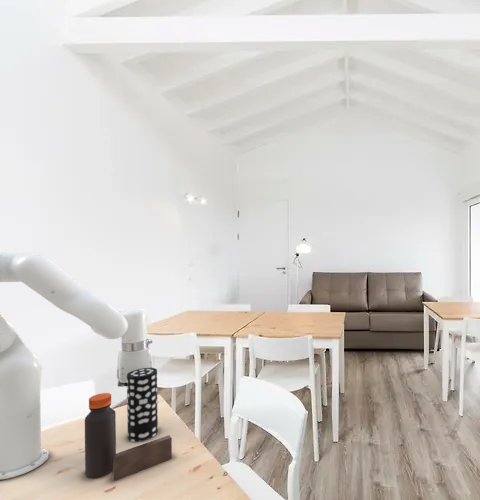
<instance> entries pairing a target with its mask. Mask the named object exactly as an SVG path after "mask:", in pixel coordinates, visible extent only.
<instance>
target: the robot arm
mask: <svg viewBox="0 0 480 500" xmlns="http://www.w3.org/2000/svg"><path fill="white" fill-rule="evenodd" d="M18 282H20V283H23V284H24V285H26V286H27V287H28V288H30V289H31V290H32V291H34V292H35V293H37V294H38V295H39V296H41V297H42V298H44V299H45V300H47V301H48V302H49V303H51V304H52V305H54V306H55V307H56V308H58V309H60V310H61V311H63V312H65V313H66V314H69V315H71V316H73V317H75V318H76V319H78V320H80V321H81V322H83V323H85V324H86V325H88V326H89V327H90V329H91V330H92V332H94V333H95V334H97V335H99V336H101V337H103V338H105V339H108V340H116V339H119V338H121V339H120V341H121V350H119V351H118V354H117V363H116V378H117V383H116V386H117V387H119V388H120V387H126V388H127V374H128V373H129V372H131V371H134V370H137V369H142V368H154V361H153V355H152V351H151V347H150V346H149V345H150V344H153V339H148V314H147V310H146V309H144V308H130V309H125V310H116V309H115V308H113V307H112V306H111V305H110V304H108V303H107V302H105V301H104V300H103V299H102V298H100V297H98V296H97V295H96V294H95V293H94V292H92V291H91V290H90V289H88V288H87V287H86V286H84V285H83V284H82V283H80V282H79V281H78V280H76V279H75V278H74V277H73V276H72V275H70V274H69V273H68V272H66V271H65V270H64V269H63V268H61V267H60V266H59V265H57V263H55V262H54V261H52V260H51V259H50V258H48V257H47V256H45V255H43V254H40V253H35V252H34V253H32V252H27V253H26V252H25V253H24V252H20V253H19V252H0V283H18ZM42 369H43V367H42V362H41V360H40V359H39V357H38V356H37V354H35V353H34V352H33V351H32V350H30V348H29V347H28V346H27V344H26V343H25V341H23V339H22V337H20V335H19V334H18V333H17V331H16V329H15V326H14V325H13V323H11V321H10V320H8V319H7V318H6V317H5V316H4V315H3V313H2V312H1V311H0V480H8V479H12V478H16V477H19V476H22V475H24V474H27V473H29V472H31V471H33V470H35V469H37V468H38V467H40V466H42V465H43V464H44V463H45V462H46V461H47V460H49V459H48V458H49V451H48V450H47V449H45V448H42V423H41V422H42V418H41V417H42V416H41V415H42V414H41V413H42V412H41V411H42V409H41V407H42V406H41V405H42V404H41V385H42V384H41V383H42V375H43V370H42Z"/></svg>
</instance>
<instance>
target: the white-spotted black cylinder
mask: <svg viewBox="0 0 480 500" xmlns="http://www.w3.org/2000/svg"><path fill="white" fill-rule="evenodd" d="M158 408H159V407H158V369H157V368H154V367H153V368H142V369H137V370H134V371H131V372H129V373H128V374H127V387H126V413H127V416H126V417H127V419H126V420H127V421H126V422H127V424H126V425H127V440H128V441H129V442H133V443H136V442H143V441H146V440H149V439H151V438H153V437H155V436H156V435H157V434H158V432H159V421H158V420H159V419H158V418H159V417H158V416H159V415H158V413H159V412H158Z"/></svg>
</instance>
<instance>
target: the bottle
mask: <svg viewBox="0 0 480 500" xmlns="http://www.w3.org/2000/svg"><path fill="white" fill-rule="evenodd" d="M111 405H112V394H111V393H110V392H101V393H97V394H95V395H92V396H90V397H89V398H88V410H89V411H90V412H89V413H88V414H87V415H86V416H85V418H84V473H85V476H86V477H87V478H89V479H97V478H100V477H103V476H106V475H109V474H110V473H112V455H113V454H116V453H117V440H116V438H117V431H116V430H117V423H116V422H117V421H116V420H117V418H116V414H117V413H116V410H115V409H113V408H112V407H111Z"/></svg>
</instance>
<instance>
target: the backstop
mask: <svg viewBox="0 0 480 500" xmlns="http://www.w3.org/2000/svg"><path fill="white" fill-rule="evenodd" d="M172 440H173V439H172V437H171V435H170V434H168V435H165V436H162V437H160V438H157V439H153V440H150V441H148V442H145V443H142V444H138V445H136V446H133V447H131V448H128V449H125V450H122V451H119V452H116V454H113V455H112V471H111V479H112V481H113V482H116V481H118V480H120V479H124V478H126V477H129V476H130V475H133V474H135V473H138V472H140V471H144V470H146V469H148V468H151V467H153V466H156V465H159V464H161V463H163V462H167V461H169V460H171V459H173V447H172V446H173V441H172Z"/></svg>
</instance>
